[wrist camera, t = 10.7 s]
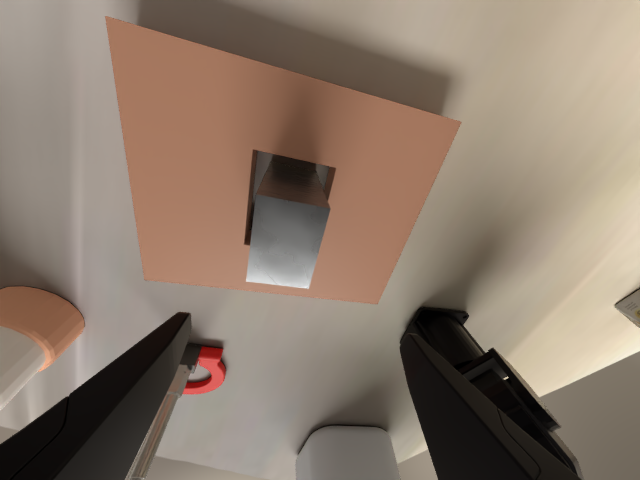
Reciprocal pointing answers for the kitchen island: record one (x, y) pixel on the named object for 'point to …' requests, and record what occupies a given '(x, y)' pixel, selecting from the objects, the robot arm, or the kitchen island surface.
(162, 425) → the tow hook
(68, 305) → the pepper shaker
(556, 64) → the kitchen island surface
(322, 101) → the tan flat board
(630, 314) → the coffee box
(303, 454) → the plastic bottle
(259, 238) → the dark gray brick
